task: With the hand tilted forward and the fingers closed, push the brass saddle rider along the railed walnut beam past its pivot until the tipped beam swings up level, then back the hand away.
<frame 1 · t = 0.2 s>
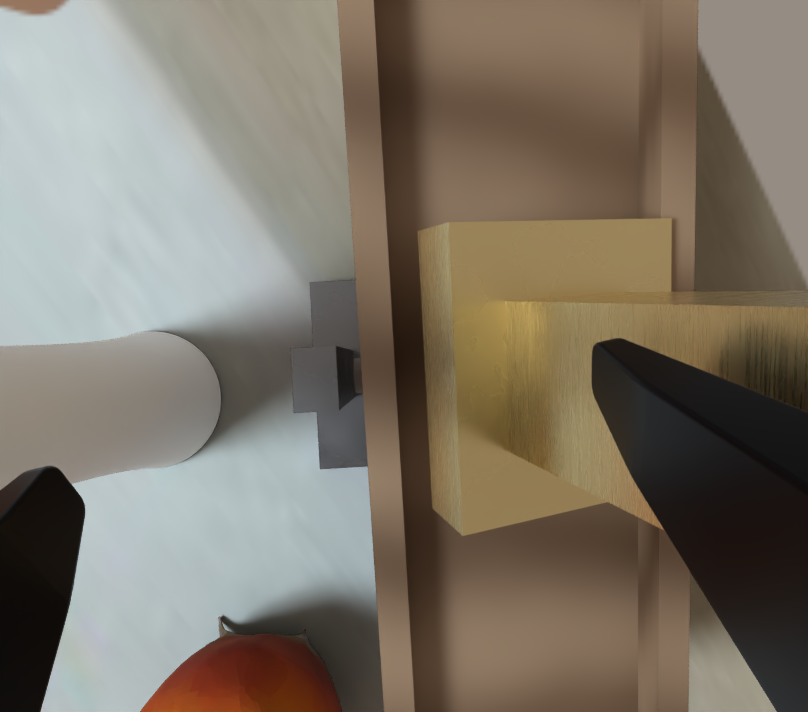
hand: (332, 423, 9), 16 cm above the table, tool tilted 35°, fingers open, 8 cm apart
rider: (530, 361, 17), point 8 cm above the table, tilted 21°, touching beam, gripper
beam stand: (485, 365, 25), on the table
beam: (512, 367, 19), point 6 cm above the table, hinge at -8.0°, touching rider
cosmetic bottle: (156, 399, 25), on the table
fruit: (263, 690, 25), on the table
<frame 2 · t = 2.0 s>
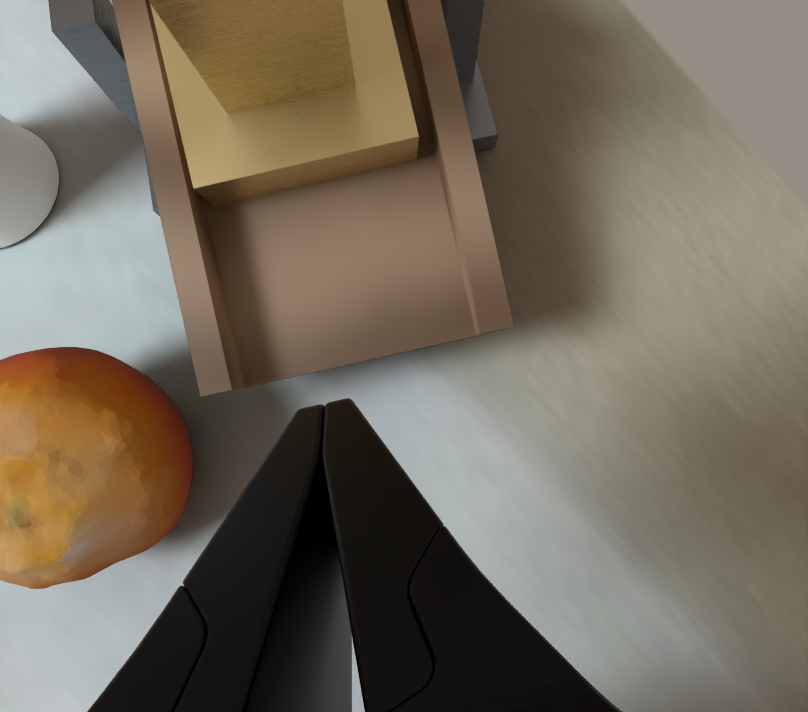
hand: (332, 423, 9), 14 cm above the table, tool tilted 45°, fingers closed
rider: (289, 69, 19), point 6 cm above the table, tilted 11°, touching beam
beam stand: (313, 105, 25), on the table
beam: (282, 2, 19), point 6 cm above the table, hinge at -10.5°, touching rider
fruit: (122, 461, 23), on the table
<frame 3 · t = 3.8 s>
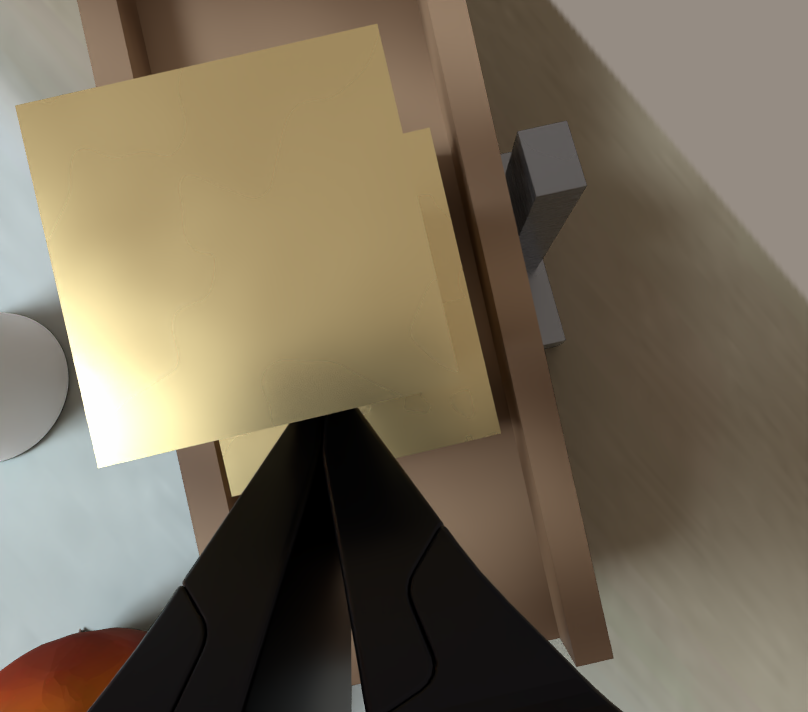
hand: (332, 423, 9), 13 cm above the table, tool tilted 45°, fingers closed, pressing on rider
rider: (339, 317, 16), point 6 cm above the table, tilted 10°, touching beam, gripper
beam stand: (353, 291, 22), on the table
beam: (330, 236, 17), point 6 cm above the table, hinge at -10.5°, touching rider
cosmetic bottle: (0, 387, 22), on the table
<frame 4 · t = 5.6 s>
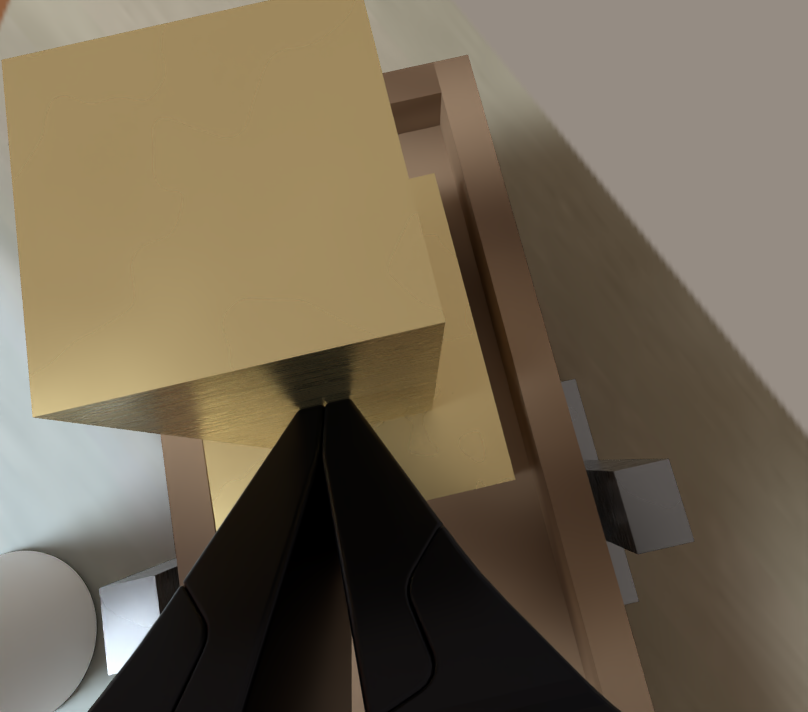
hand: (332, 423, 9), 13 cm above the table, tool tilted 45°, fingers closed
rider: (345, 364, 15), point 6 cm above the table, touching beam
beam stand: (403, 528, 21), on the table
beam: (397, 553, 15), point 6 cm above the table, hinge at 0.6°, touching rider
cosmetic bottle: (23, 633, 21), on the table
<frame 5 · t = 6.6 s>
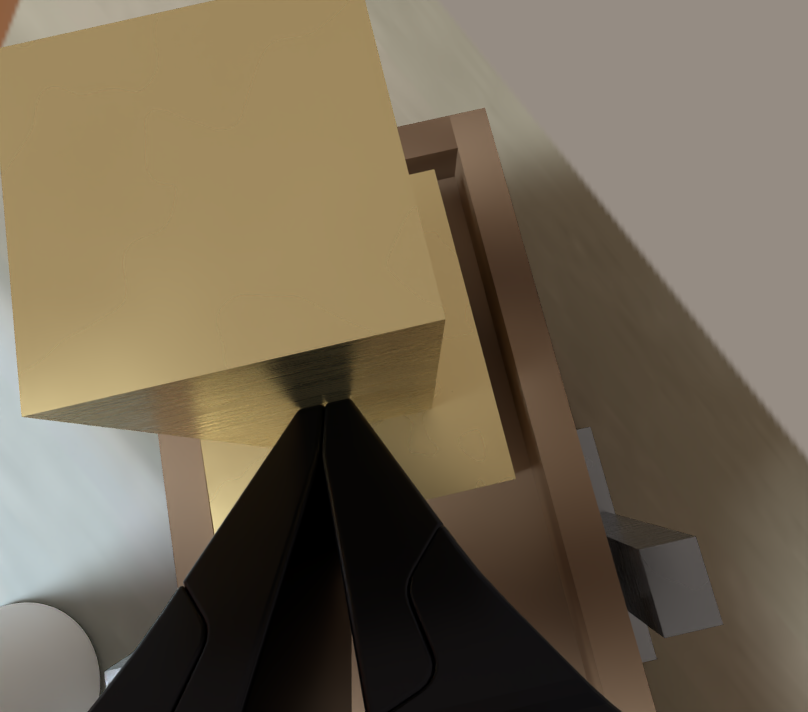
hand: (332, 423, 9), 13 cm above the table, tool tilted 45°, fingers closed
rider: (344, 362, 15), point 6 cm above the table, touching beam, gripper
beam stand: (414, 579, 20), on the table
beam: (412, 626, 15), point 6 cm above the table, hinge at 0.7°, touching rider
cosmetic bottle: (24, 687, 20), on the table
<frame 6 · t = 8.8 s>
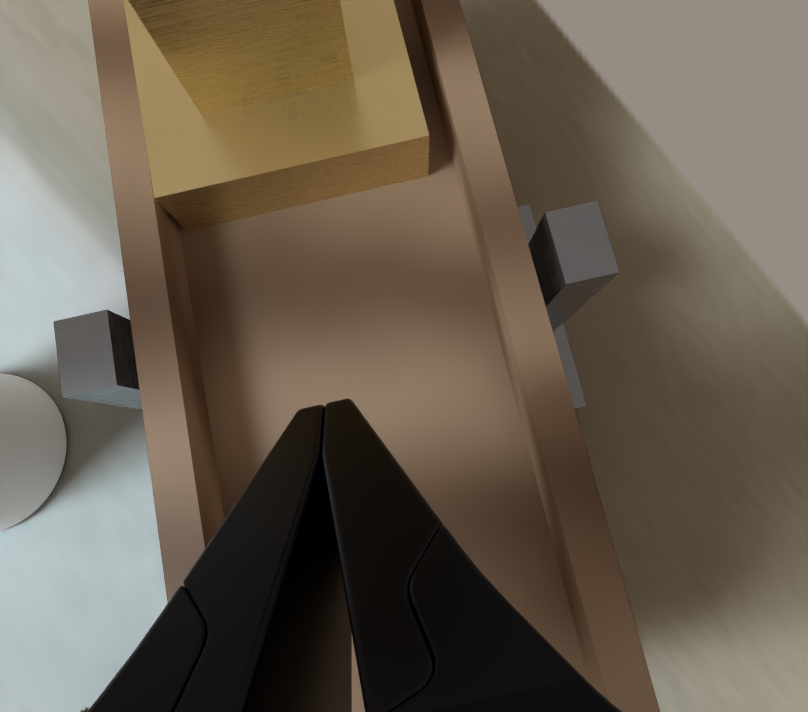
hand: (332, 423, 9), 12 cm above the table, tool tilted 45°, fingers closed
rider: (282, 82, 16), point 6 cm above the table, touching beam
beam stand: (364, 350, 21), on the table
beam: (343, 313, 16), point 6 cm above the table, hinge at 0.7°, touching rider
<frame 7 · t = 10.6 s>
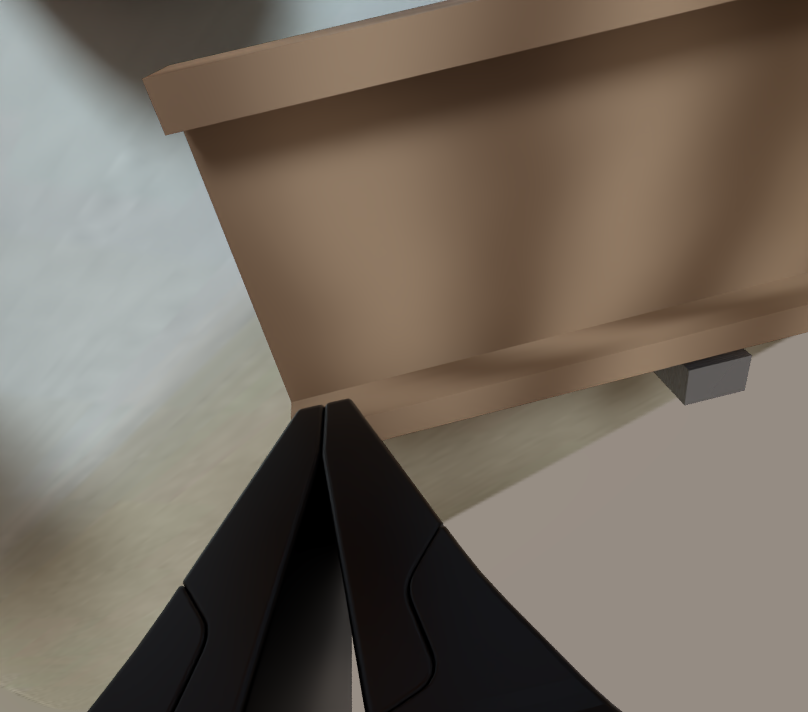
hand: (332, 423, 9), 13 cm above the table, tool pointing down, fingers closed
beam stand: (612, 120, 20), on the table
beam: (709, 158, 15), point 6 cm above the table, hinge at 0.7°, touching rider
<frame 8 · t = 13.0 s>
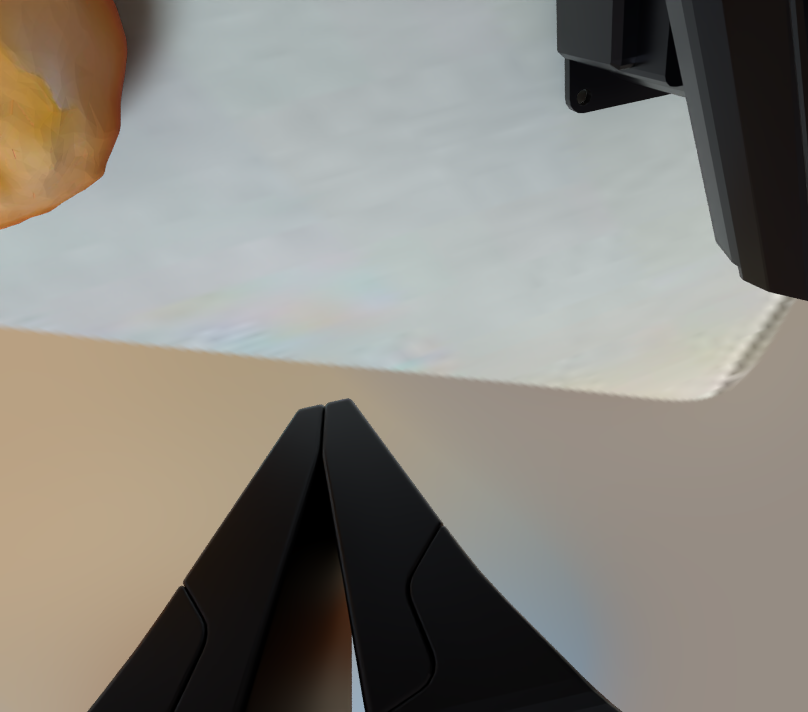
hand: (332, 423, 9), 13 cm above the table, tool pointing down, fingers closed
fruit: (9, 44, 16), on the table
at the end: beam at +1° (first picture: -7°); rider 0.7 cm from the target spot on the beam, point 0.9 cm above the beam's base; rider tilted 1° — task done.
